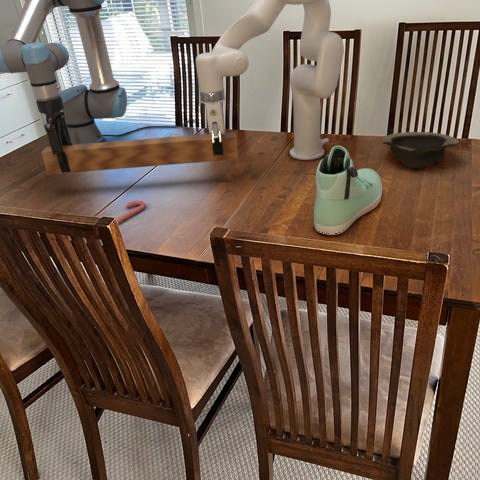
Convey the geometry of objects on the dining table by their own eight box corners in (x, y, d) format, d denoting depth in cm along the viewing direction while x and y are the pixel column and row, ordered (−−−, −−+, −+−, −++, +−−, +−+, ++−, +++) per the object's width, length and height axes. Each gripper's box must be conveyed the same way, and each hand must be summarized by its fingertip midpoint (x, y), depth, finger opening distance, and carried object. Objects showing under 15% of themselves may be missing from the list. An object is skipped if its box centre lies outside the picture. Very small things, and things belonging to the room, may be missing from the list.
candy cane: (99, 223, 142) (98, 218, 141) (136, 202, 152) (135, 198, 151) (113, 227, 139) (112, 223, 138) (149, 206, 149) (149, 202, 148)
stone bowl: (418, 179, 151) (419, 150, 147) (365, 160, 172) (365, 135, 167) (473, 159, 160) (476, 132, 156) (417, 144, 180) (418, 120, 176)
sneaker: (389, 187, 148) (396, 123, 138) (356, 242, 123) (361, 168, 112) (346, 181, 154) (350, 119, 144) (306, 232, 129) (307, 161, 118)
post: (47, 174, 157) (40, 152, 153) (52, 168, 161) (45, 147, 157) (238, 159, 156) (236, 136, 152) (237, 153, 160) (236, 131, 156)
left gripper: (51, 105, 138) (72, 178, 151) (68, 89, 154) (86, 157, 166) (26, 107, 138) (49, 180, 151) (45, 91, 154) (64, 159, 166)
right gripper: (224, 102, 140) (230, 160, 150) (224, 87, 155) (229, 141, 164) (199, 104, 140) (206, 162, 150) (201, 89, 155) (207, 143, 164)
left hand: (68, 168), depth 158 cm, fingers closed on post, 5 cm apart
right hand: (218, 151), depth 157 cm, fingers closed on post, 5 cm apart
